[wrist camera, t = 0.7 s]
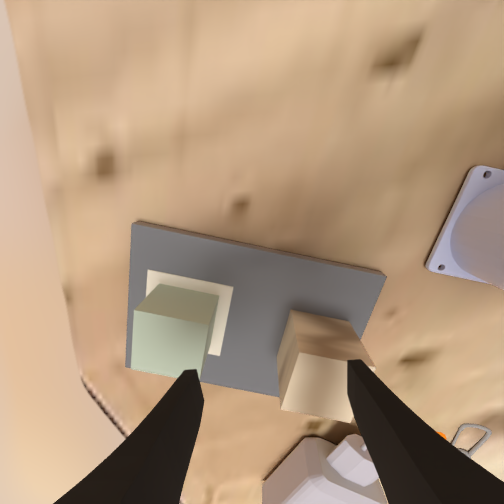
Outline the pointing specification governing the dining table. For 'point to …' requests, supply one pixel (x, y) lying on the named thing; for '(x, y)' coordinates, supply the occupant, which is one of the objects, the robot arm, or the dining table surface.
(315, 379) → the maple block
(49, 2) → the dining table surface
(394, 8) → the dining table surface
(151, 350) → the sage base block
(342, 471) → the charger
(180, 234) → the board
